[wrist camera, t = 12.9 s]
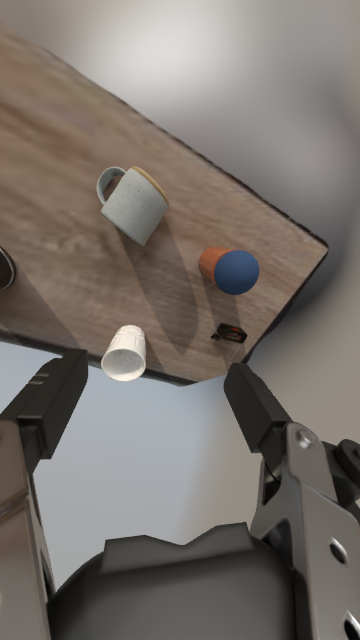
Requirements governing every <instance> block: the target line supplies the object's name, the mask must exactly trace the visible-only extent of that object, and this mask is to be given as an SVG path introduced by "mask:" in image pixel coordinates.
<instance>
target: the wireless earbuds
mask: <svg viewBox="0 0 360 640" xmlns="http://www.w3.org/2000/svg"><path fill="white" fill-rule="evenodd" d="M217 332H218V334H219V335H220V337H221V338H222V339H225V340H229V341H233V342H237V343H243V342H244V341H245V339H246V338H247V334H246V333H245V332H244V331H243V330H242V329H241V328H238V327H234V326H231V325H227V324H224V323H221V324H220V326H219V328H218V330H217ZM220 337H219V336H218V335H217V334H216V333H215V334H214V335H213V336H211V338H212V339H213V338H214V339H216V340H220Z"/></svg>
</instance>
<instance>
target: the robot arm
mask: <svg viewBox="0 0 360 640" xmlns="http://www.w3.org/2000/svg"><path fill="white" fill-rule="evenodd" d="M15 277H16V270H15V266H14V263H13V261H12V259H11V258H10V256H9V255H8V254H7V253H6V251H5V250H4V249H3V248H1V247H0V290H3V289H6V288H8V287H9V286H11V285H12V284H13V282H14V280H15ZM87 379H88V351H87V350H84V349H72V348H70V349H68V350H67V352H66V353H65V354H64V356H63V357H62V358H54V359H52V360H51V361H49V362H47V363H46V364H44V365H43V366H42V367H41V368H40V369H39V371H38V372H37V373H36V374H35V376H33V377H32V379H31V380H30V381H29V383H28V384H26V386H25V387H24V388H23V389H22V390H21V391H20V392H19V394H18V395H17V396H16V397H15V398H14V399H13V400H12V402H11V403H10V404H9V405H8V406H7V407H6V408H5V410H4V411H3V412H2V413H1V414H0V640H360V508H359V507H358V505H357V504H356V503H355V501H356V500H358V499H359V498H360V444H358V443H356V442H354V441H351V440H348V439H344V440H342V441H341V442H340V443H339V444H338V445H337V446H335V445H333V444H329V443H327V442H324V441H321V440H320V439H319V438H318V437H317V436H316V435H315V434H314V433H313V432H312V431H311V430H310V429H308V428H307V427H306V426H304V425H302V424H299V423H297V422H293V421H292V420H291V418H290V417H289V415H288V414H287V413H286V411H285V410H284V409H283V407H282V406H281V404H280V403H279V402H278V400H277V399H276V398H275V396H273V394H272V392H271V391H270V390H269V389H268V387H267V386H266V384H265V383H264V381H263V380H262V379H261V378H260V377H258V376H257V375H256V374H255V373H253V372H252V370H251V369H250V368H249V366H248V365H247V364H243V363H232V365H231V367H230V369H229V372H228V374H227V376H226V379H225V381H224V392H225V394H226V397H227V399H228V401H229V403H230V405H231V408H232V410H233V412H234V414H235V417H236V419H237V421H238V424H239V426H240V428H241V431H242V433H243V435H244V437H245V440H246V442H247V444H248V446H249V449H250V451H251V453H261V454H262V456H263V459H262V461H261V467H260V478H259V490H258V500H257V508H256V512H255V515H254V518H253V520H252V523H251V527H250V532H249V530H248V527H247V524H246V522H243V523H234V524H226V525H218V526H215V527H213V528H212V529H210V530H209V531H207V532H205V533H203V534H202V535H200V536H199V537H197V538H196V539H194V540H193V541H191V542H189V543H187V544H186V545H178V544H174V543H171V542H167V541H164V540H160V539H157V538H153V537H150V536H147V535H140V536H133V537H124V538H117V539H109V540H106V541H105V548H104V551H103V552H101V553H100V554H98V555H96V556H94V557H93V558H91V559H90V560H89V561H87V562H86V563H84V564H83V565H82V566H81V567H80V568H79V569H78V570H76V571H75V572H74V573H73V574H72V575H71V576H70V577H69V578H68V579H67V580H66V582H65V583H64V584H63V585H62V586H61V587H60V588H59V589H58V590H57V592H56V589H55V584H54V579H53V574H52V568H51V563H50V558H49V553H48V549H47V544H46V541H45V536H44V531H43V526H42V521H41V516H40V510H39V505H38V500H37V494H36V489H35V484H34V478H33V472H34V470H35V468H36V466H37V464H38V462H39V460H40V459H51V458H52V456H53V454H54V451H55V449H56V447H57V445H58V443H59V441H60V439H61V436H62V434H63V432H64V430H65V428H66V425H67V424H68V422H69V419H70V417H71V415H72V413H73V411H74V409H75V407H76V405H77V402H78V400H79V398H80V396H81V394H82V392H83V390H84V387H85V385H86V383H87Z"/></svg>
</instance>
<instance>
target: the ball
mask: <svg viewBox="0 0 360 640" xmlns="http://www.w3.org/2000/svg"><path fill="white" fill-rule="evenodd" d="M258 276H259V265H258V262H257V260H256V259H255V258H254V256H253V255H251V254H250V253H248V252H246V251H242V250H235V251H231V252H228V253H226V254H225V255H224V256H222V257H221V258H220V259H219V261H218V262H217V264H216V266H215V270H214V279H215V282H216V285H217V286H218V287H219V289H220V290H222V291H223V292H225V293H227V294H231V295H239V294H242V293H245V292H247V291H248V290H250V289H251V288H252V287H253V286H254V285H255V283H256V281H257V279H258Z"/></svg>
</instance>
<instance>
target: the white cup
mask: <svg viewBox="0 0 360 640" xmlns="http://www.w3.org/2000/svg"><path fill="white" fill-rule="evenodd" d="M101 367H102V370H103V372H104V373H105V374H106V375H107V376H108V377H110V378H111V379H114V380H117V381H131V380H134V379H137V378H138V377H140V376H141V375H142V374H143V372H144V370H145V367H146V342H145V334H144V332H143V331H142V330H141V329H140V328H139V327H137V326H133V325H127V326H123V327H121V328H120V329H119V330H118V331H117V333H116V335H115V336H114V338H113V340H112V342H111V343H110V345H109V347H108V349H107V351H106V353H105V355H104V357H103V359H102V362H101Z"/></svg>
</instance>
